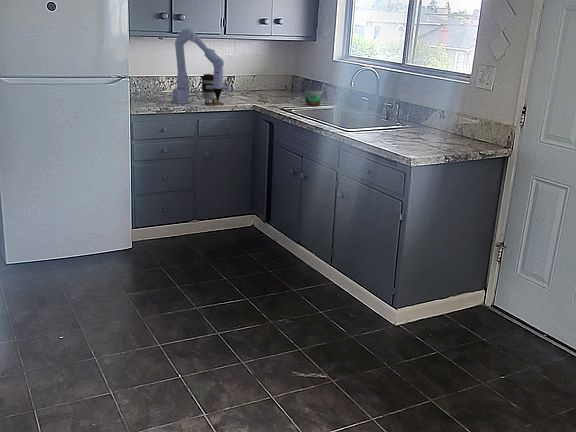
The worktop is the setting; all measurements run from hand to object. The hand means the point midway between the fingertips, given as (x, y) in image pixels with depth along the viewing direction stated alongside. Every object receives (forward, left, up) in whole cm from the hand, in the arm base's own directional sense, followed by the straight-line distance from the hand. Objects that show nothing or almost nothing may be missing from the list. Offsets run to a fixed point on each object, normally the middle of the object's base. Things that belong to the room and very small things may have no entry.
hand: (217, 101), depth 398 cm
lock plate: (-1, +3, -3) cm, 4 cm away
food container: (+61, -22, -3) cm, 65 cm away
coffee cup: (+10, +25, -3) cm, 27 cm away
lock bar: (-1, +2, -1) cm, 2 cm away
